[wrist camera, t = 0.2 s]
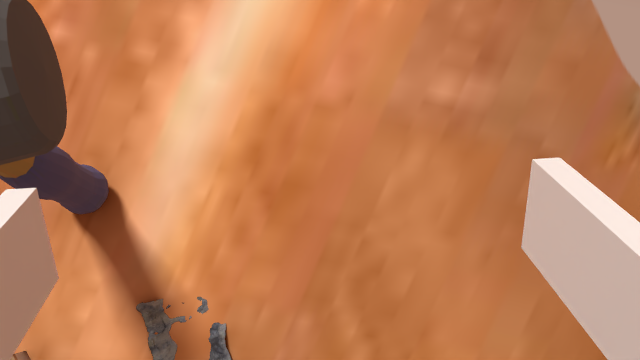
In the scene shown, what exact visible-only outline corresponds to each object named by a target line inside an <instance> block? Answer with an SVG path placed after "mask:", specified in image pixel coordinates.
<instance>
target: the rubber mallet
mask: <svg viewBox="0 0 640 360" xmlns="http://www.w3.org/2000/svg"><path fill="white" fill-rule="evenodd" d="M66 118H67V107H66V96H65V89H64V84H63V79H62V73H61V70H60V66H59V63H58V59H57V56H56V52H55V50H54V47H53V44H52V42H51V39H50V37H49V34H48V32H47V30H46V28H45V26H44V24H43V22H42V20H41V18H40V16H39V15H38V13H37V12H36V10H35V9H34V8H33V6H32V5H31V4H30V3H29V2H28V1H27V0H0V179H2V180H3V181H4V182H6V183H7V184H9V185H10V186H12V187H14V188H15V189H23V188H37V191H38V195H39V199H45V200H54V201H56V202H59V203H60V204H61V205H62V206H63V207H65V208H66V209H68V210H69V211H71V212H73V213H76V214H86V213H91V212H94V211H96V210H97V209H99V208H100V207H101V205H102V204H103V203H104V201H105V200H106V199H107V196H108V192H109V190H108V183H107V179H106V178H105V176H104V175H103V174H102V173H101V172H99V171H98V170H96V169H95V168H93V167H91V166H88V165H80V164H78V163H76V162H75V161H74V160H73V159H72V158H71V157H70V155H69V154H67V153H66V152H65V151H63V150H62V149H60V148H59V147H57V145H58V144H59V142H60V141H61V139H62V137H63V135H64V131H65V128H66Z"/></svg>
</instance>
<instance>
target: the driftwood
mask: <svg viewBox="0 0 640 360" xmlns="http://www.w3.org/2000/svg"><path fill="white" fill-rule="evenodd" d="M197 299H198V300H200V301H201V300H202V306H200V307H199V308H198V310H197V311H198V312H199V313H200V312H201V313H202V314H203V313H205V312H206V311H207V310H208V306H207V300H205V299H203V298H202V297H197ZM182 303H183V302H182ZM183 304H184V303H183ZM162 306H163V299H159V300H156V301H152V302H149V303H140V304H138V305H137V307H136V309H137V310H138V311H139V312H140V313H141V314H142V316H143V318H144V321H145V325H146V327H147V331H148V332H149V337H148V344H149V348H150V350H151V353H152V355H153V360H174V358H175V354H176V351H177V345H176V343H175V342H174V341H173V340H172V339H171V336H170V335H169V331H170V329H171V325H172V324H173V323H174V322H178V321H180V322H186V320H185V316H181V317H176V318H173V319H170V318H169V317H168V316H167V315H166V314H165V313H164V312H163V311H164V309H163V307H162ZM169 307H170V305H168V306H167V308H169ZM167 308H166V309H167ZM190 318H192V317H191V316H190ZM190 318H189V319H190ZM225 330H226V324H220V323H214V324H213V325H212V328H210V338H209V342H210V343H211V352H210V359H209V360H231V357H230V354H229V352H228V350H227V348H226V344H225V339H224V338H225V335H226V334H225ZM155 332H158V333H159V334H157V335H155V334H154V333H155Z"/></svg>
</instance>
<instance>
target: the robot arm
mask: <svg viewBox="0 0 640 360" xmlns="http://www.w3.org/2000/svg"><path fill="white" fill-rule="evenodd" d="M521 248H522V249H523V250H524V252H525V253H526V254H527V256H528V257H529V258H530V259H531V261H532V262H533V263H534V265H535V266H536V267H537V269H538V270H539V271H540V272H541V274H542V275H543V276H544V278H545V279H546V280H547V281H548V283H549V284H550V285H551V287H552V288H553V289H554V291H555V292H556V293H557V294H558V296H559V297H560V298H561V300H562V301H563V302H564V304H565V305H566V306H567V307H568V309H569V310H570V311H571V313H572V314H573V315H574V316H575V318H576V319H577V320H578V322H579V323H580V324H581V326H582V327H583V328H584V329H585V331H586V332H587V333H588V335H589V336H590V337H591V339H592V340H593V341H594V342H595V344H596V345H597V346H598V348H599V349H600V350H601V352H602V353H603V354H604V355H605V357H606V358H607V359H608V360H640V223H639V222H638V221H637V220H636V219H635V218H633V217H632V216H631V215H630V214H628V213H627V212H626V211H625V210H624V209H622V208H621V207H620V206H619V205H617V204H616V203H615V202H614V201H612V200H611V199H610V198H609V197H608V196H606V195H605V194H604V193H603V192H601V191H600V190H599V189H598V188H596V187H595V186H594V185H593V184H592V183H590V182H589V181H588V180H587V179H585V178H584V177H583V176H582V175H580V174H579V173H578V172H577V171H576V170H574V169H573V168H572V167H571V166H569V165H568V164H567V163H566V162H564V161H563V160H562V159H561V158H546V159H532V166H531V174H530V182H529V190H528V199H527V207H526V215H525V223H524V231H523V239H522V247H521ZM58 279H59V277H58V273H57V269H56V265H55V261H54V257H53V253H52V248H51V244H50V240H49V236H48V232H47V228H46V224H45V220H44V216H43V212H42V208H41V204H40V200H39V195H38V191H37V188H23V189H6V190H5V191H4V192H3V193H2V194H1V195H0V360H10V359H11V357H12V356H13V354H14V352H15V351H16V349H17V347H18V346H19V344H20V342H21V341H22V339H23V337H24V336H25V334H26V332H27V331H28V329H29V327H30V326H31V324H32V322H33V321H34V319H35V317H36V316H37V314H38V312H39V311H40V309H41V307H42V306H43V304H44V302H45V300H46V299H47V297H48V295H49V294H50V292H51V290H52V289H53V287H54V285H55V284H56V282H57V280H58Z"/></svg>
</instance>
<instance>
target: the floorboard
mask: <svg viewBox="0 0 640 360" xmlns="http://www.w3.org/2000/svg"><path fill="white" fill-rule="evenodd" d="M10 360H30V358H29V356H28V354H27V352H26V351H23V352H20V353H16V354H13V356H12V357H11V359H10Z"/></svg>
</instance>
